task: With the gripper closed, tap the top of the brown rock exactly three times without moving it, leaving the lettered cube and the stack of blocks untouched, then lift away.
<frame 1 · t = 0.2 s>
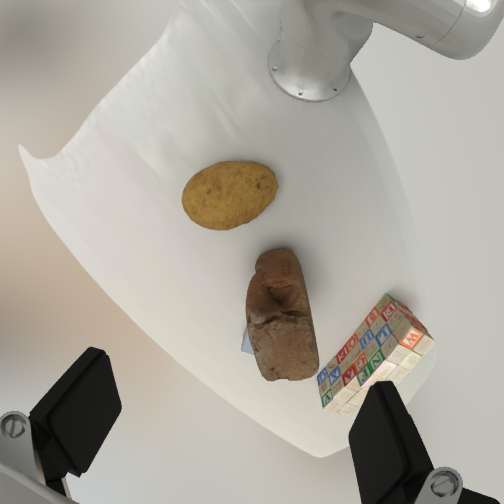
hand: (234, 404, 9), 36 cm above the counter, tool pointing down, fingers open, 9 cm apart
potato: (234, 191, 43), on the counter
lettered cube: (261, 327, 49), on the counter
brown rock: (280, 277, 46), on the counter
stack of blocks: (361, 343, 49), on the counter
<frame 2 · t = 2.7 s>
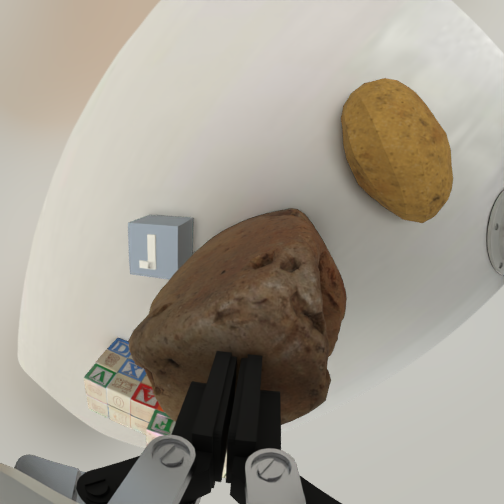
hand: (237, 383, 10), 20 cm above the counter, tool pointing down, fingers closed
potato: (380, 154, 26), on the counter
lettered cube: (170, 239, 30), on the counter
brown rock: (264, 247, 29), on the counter, touching gripper
stack of blocks: (188, 379, 35), on the counter
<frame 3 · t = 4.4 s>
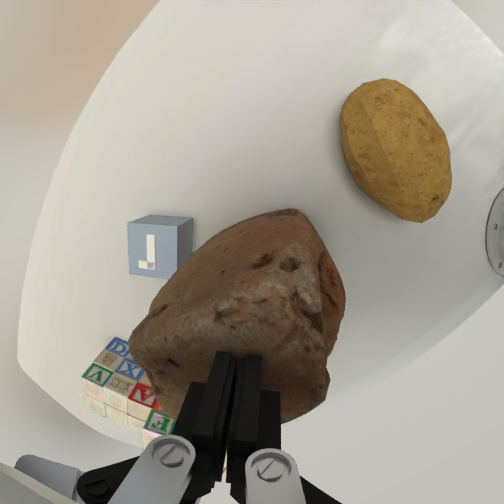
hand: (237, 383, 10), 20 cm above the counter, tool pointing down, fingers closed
potato: (379, 154, 26), on the counter
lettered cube: (170, 239, 30), on the counter
brown rock: (263, 247, 29), on the counter, touching gripper
stack of blocks: (185, 379, 35), on the counter
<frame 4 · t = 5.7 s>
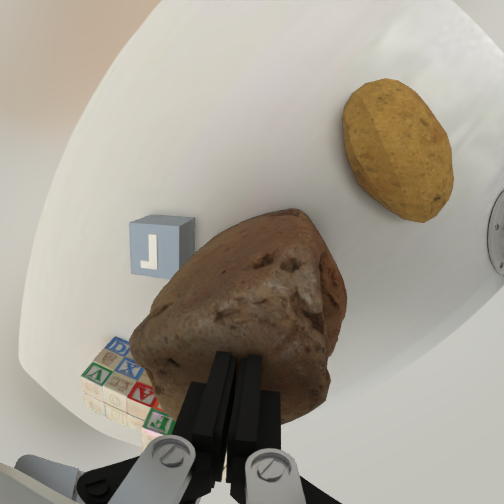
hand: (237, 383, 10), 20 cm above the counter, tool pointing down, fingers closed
potato: (381, 154, 26), on the counter
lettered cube: (171, 239, 30), on the counter
brown rock: (265, 247, 29), on the counter, touching gripper
stack of blocks: (184, 378, 35), on the counter
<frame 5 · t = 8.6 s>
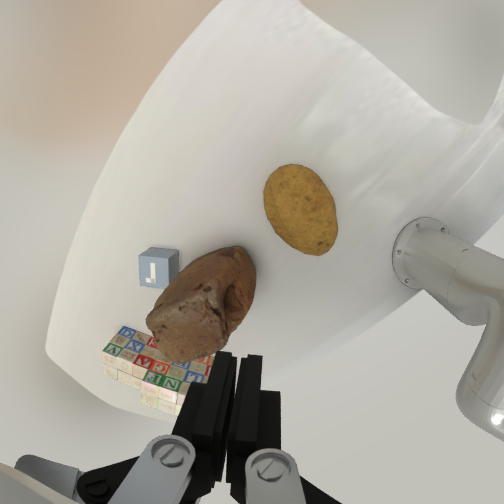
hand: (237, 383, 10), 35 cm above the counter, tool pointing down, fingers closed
potato: (298, 207, 43), on the counter
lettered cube: (164, 263, 47), on the counter
brown rock: (222, 269, 46), on the counter
stack of blocks: (171, 354, 52), on the counter
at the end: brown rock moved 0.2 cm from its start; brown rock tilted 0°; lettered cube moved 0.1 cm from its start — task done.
